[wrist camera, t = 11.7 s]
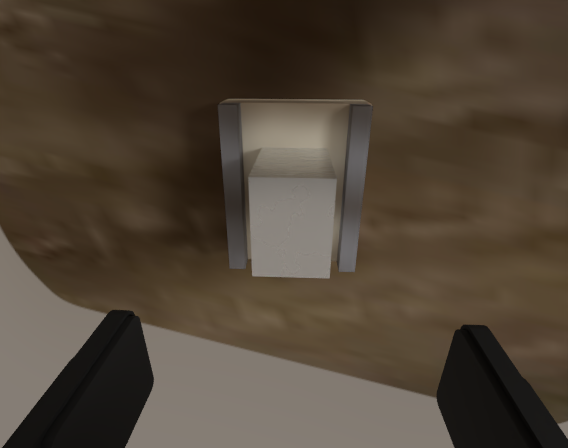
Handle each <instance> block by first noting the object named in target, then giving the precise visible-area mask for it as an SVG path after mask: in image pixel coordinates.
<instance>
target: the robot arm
mask: <svg viewBox="0 0 568 448" xmlns="http://www.w3.org/2000/svg"><path fill="white" fill-rule="evenodd" d="M153 382H154V377H153V373H152V368H151V364H150V360H149V356H148V352H147V348H146V343H145V339H144V335H143V330H142V327H141V322H140V318H139V317H138V316H135V314H134V312H133V311H126V310H112V311H110V312H109V313H108V314H107V315H106V317H105V318H104V320H103V321H102V322H101V323H100V325H99V326H98V327H97V328H96V330H95V331H94V332H93V334H92V335H91V336H90V338H89V339H88V340H87V341H86V343H85V344H84V345H83V346H82V348H81V349H80V350H79V352H78V353H77V354H76V355H75V357H73V358H72V359H71V360H70V361H69V363H68V364H67V366H65V368H64V369H63V370H62V372H61V373H60V374H59V375H58V377H57V378H56V379H55V381H54V382H53V383H52V385H51V386H50V387H49V388H48V390H47V391H46V392H45V393H44V395H43V396H42V397H41V399H40V400H39V401H38V402H37V404H36V405H35V406H34V408H33V409H32V410H31V411H30V413H29V414H28V415H27V416H26V418H25V419H24V420H23V422H22V423H21V424H20V425H19V427H18V428H17V429H16V431H15V432H14V433H13V434H12V436H11V437H10V438H9V440H8V441H7V442H6V443H5V445H4V446H3V447H2V448H125V446H126V444H127V442H128V440H129V438H130V436H131V433H132V431H133V429H134V427H135V424H136V423H137V420H138V418H139V416H140V414H141V412H142V410H143V408H144V405H145V403H146V401H147V399H148V397H149V395H150V392H151V390H152V387H153ZM437 402H438V406H439V409H440V411H441V413H442V416H443V419H444V422H445V424H446V427H447V429H448V432H449V434H450V437H451V440H452V442H453V445H454V447H455V448H568V439H567V438H566V436H565V435H564V433H563V432H562V430H561V429H560V428H559V426H558V425H557V423H556V422H555V420H554V419H553V417H552V416H551V414H550V413H549V411H548V410H547V409H546V407H545V406H544V404H543V403H542V401H541V400H540V398H539V397H538V396H537V394H536V393H535V391H534V390H533V388H532V387H531V385H530V384H529V383H528V382H527V381H526V380H525V379H524V378H523V377H522V376H521V375H520V373H519V372H518V370H517V369H516V367H515V366H514V365H513V363H512V362H511V360H510V359H509V357H508V356H507V354H506V353H505V351H504V350H503V348H502V347H501V345H500V344H499V343H498V341H497V340H496V338H495V337H494V335H493V334H492V332H491V331H490V329H489V328H488V327H487V326H485V325H463V326H462V327H461V329H460V330H456V331H455V333H454V336H453V340H452V343H451V346H450V350H449V353H448V356H447V360H446V363H445V366H444V370H443V373H442V376H441V380H440V383H439V387H438V390H437Z"/></svg>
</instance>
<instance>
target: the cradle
mask: <svg viewBox="0 0 568 448" xmlns="http://www.w3.org/2000/svg"><path fill="white" fill-rule="evenodd" d="M372 110H373V106H371V103H369V102H367V101H365V100H325V99H226V100H224V101H222V102H220V104H218V117H219V131H220V144H221V157H222V171H223V184H224V198H225V211H226V225H227V238H228V251H229V265H230V268H231V269H245V268H246V264H247V260H248V259H252V257H251V233H250V209H249V185H248V177H249V174H250V172H251V170H252V168H253V166H254V164H255V162H256V159H257V157H258V155H259V153H260V151H261V149H262V147H269V148H327V150H328V153H329V156H330V159H331V162H332V165H333V168H334V172H335V175H336V178H337V184H336V197H335V211H334V224H333V238H332V251H331V261H337V265H338V270H339V272H355V264H356V255H357V246H358V237H359V228H360V219H361V210H362V200H363V191H364V182H365V173H366V164H367V155H368V146H369V137H370V128H371V119H372Z"/></svg>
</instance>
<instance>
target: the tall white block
mask: <svg viewBox="0 0 568 448" xmlns="http://www.w3.org/2000/svg"><path fill="white" fill-rule="evenodd" d="M336 184H337V178H336V175H335V172H334V168H333V165H332V162H331V159H330V156H329V153H328V150H327V148H269V147H262V149H261V151H260V153H259V155H258V157H257V159H256V162H255V164H254V166H253V168H252V170H251V172H250V174H249V177H248V185H249V209H250V233H251V257H252V276H266V277H301V278H330V265H331V251H332V238H333V224H334V211H335V197H336Z"/></svg>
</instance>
